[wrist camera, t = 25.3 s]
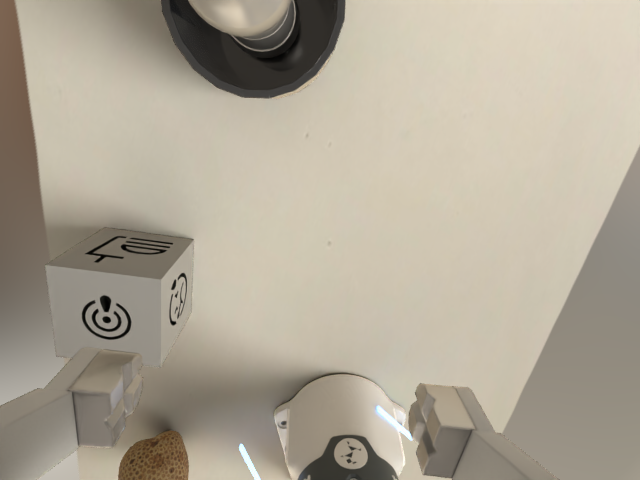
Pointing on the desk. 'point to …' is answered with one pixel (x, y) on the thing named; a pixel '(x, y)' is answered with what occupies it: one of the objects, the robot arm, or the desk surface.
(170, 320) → the icon cube
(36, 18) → the desk surface
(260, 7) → the metal bottle
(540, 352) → the desk surface
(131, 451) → the natural sponge
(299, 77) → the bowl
